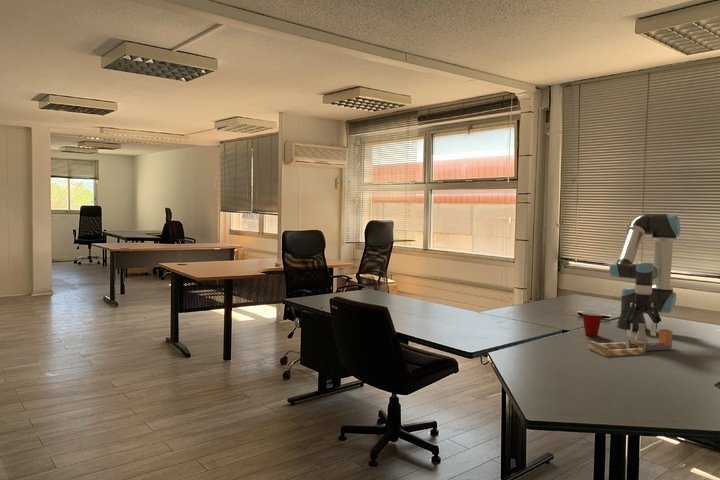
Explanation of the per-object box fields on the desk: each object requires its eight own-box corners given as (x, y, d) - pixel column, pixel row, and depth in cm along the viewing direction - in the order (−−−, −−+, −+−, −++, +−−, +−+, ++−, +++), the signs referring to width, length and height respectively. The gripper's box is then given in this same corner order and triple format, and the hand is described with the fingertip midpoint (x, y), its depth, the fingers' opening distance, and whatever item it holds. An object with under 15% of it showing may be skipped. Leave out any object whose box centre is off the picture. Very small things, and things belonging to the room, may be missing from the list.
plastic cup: (604, 334, 289) (605, 312, 289) (600, 338, 280) (601, 315, 280) (582, 331, 295) (583, 309, 295) (578, 335, 286) (579, 312, 286)
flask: (651, 346, 266) (652, 326, 265) (635, 345, 268) (636, 325, 267) (646, 342, 273) (647, 323, 273) (631, 341, 275) (632, 322, 274)
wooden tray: (630, 347, 264) (630, 337, 263) (649, 354, 251) (649, 344, 251) (588, 349, 259) (588, 339, 258) (605, 356, 246) (605, 346, 246)
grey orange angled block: (665, 347, 263) (666, 329, 262) (671, 349, 259) (672, 331, 258) (629, 349, 259) (630, 330, 258) (635, 351, 255) (636, 332, 254)
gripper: (659, 292, 275) (657, 333, 276) (616, 292, 270) (614, 334, 271) (670, 294, 268) (668, 337, 269) (626, 294, 262) (624, 338, 263)
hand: (641, 335), depth 270 cm, fingers open, 13 cm apart
